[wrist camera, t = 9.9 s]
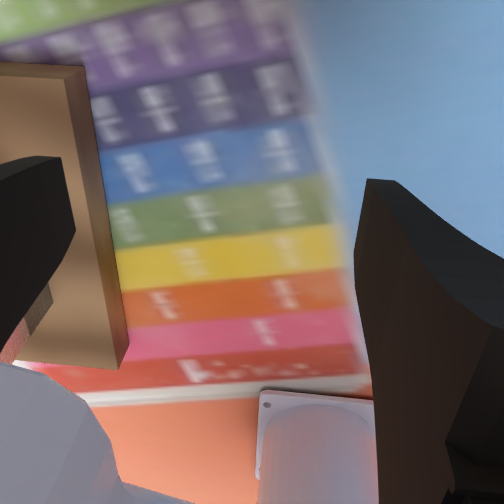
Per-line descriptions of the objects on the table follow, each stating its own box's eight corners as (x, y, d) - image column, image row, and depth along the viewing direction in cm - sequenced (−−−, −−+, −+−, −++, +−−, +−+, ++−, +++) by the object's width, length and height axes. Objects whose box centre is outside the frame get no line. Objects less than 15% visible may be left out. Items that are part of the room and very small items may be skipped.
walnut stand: (129, 344, 29) (118, 370, 27) (-31, 329, 30) (-51, 353, 28) (83, 66, 20) (63, 79, 18) (-145, 53, 20) (-185, 64, 19)
